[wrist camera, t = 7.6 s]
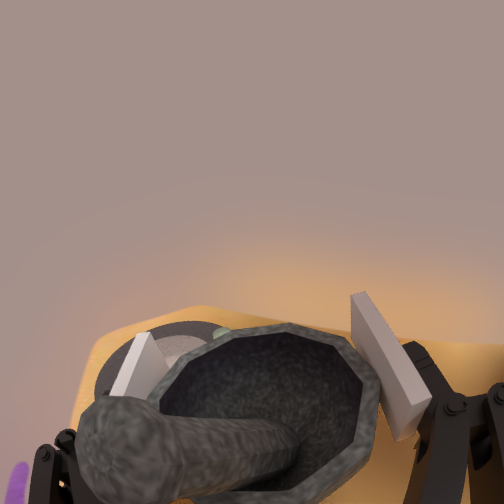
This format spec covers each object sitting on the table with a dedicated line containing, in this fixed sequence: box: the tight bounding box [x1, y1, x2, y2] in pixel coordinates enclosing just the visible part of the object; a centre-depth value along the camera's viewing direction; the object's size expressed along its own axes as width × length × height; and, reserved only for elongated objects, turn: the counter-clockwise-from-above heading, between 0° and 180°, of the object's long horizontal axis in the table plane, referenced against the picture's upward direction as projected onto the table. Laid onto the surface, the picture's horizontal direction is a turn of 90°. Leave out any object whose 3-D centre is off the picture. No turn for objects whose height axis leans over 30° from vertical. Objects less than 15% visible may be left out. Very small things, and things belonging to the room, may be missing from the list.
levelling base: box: [94, 321, 231, 400], centre depth 30 cm, size 20×20×4 cm
